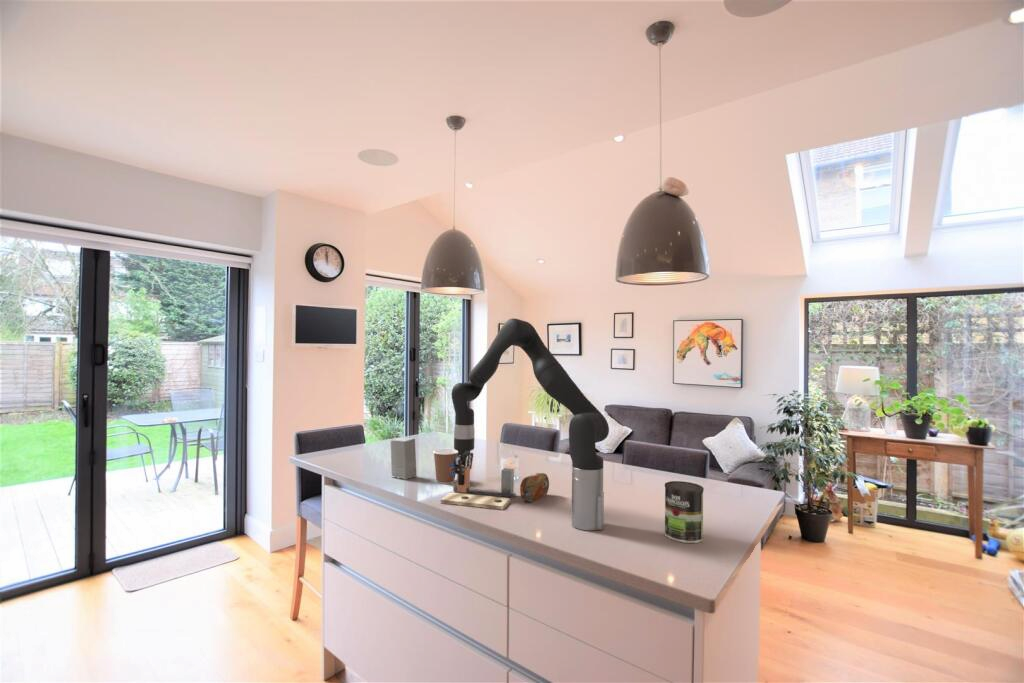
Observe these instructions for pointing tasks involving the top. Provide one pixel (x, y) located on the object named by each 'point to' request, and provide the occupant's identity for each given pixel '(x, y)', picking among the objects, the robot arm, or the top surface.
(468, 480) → the block
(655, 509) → the top surface
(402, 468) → the skincare box
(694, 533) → the coffee can
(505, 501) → the hole board
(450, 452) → the coffee cup
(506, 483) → the dividers rail
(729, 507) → the top surface
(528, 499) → the brown rounded flat piece
